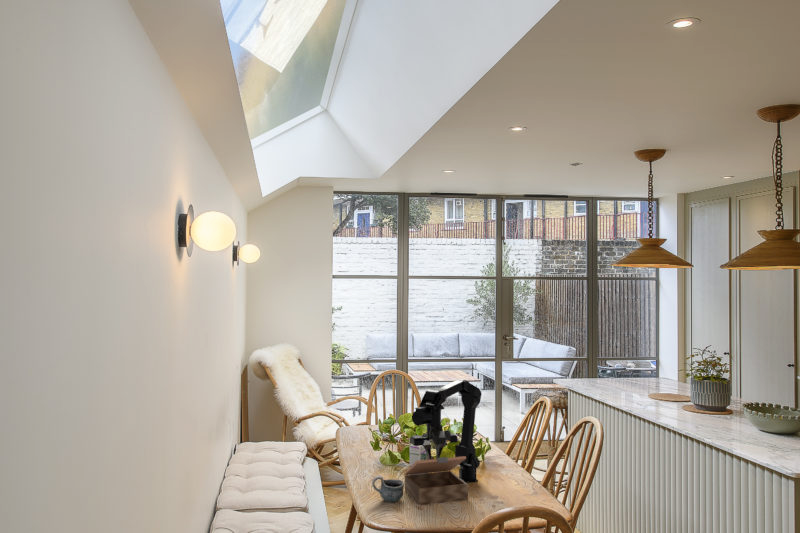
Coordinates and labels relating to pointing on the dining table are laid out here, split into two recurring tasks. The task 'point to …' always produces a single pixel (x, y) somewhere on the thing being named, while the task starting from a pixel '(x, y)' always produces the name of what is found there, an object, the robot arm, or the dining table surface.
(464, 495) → the crate
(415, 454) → the syrup box
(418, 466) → the lid
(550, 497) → the dining table surface
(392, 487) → the mug
